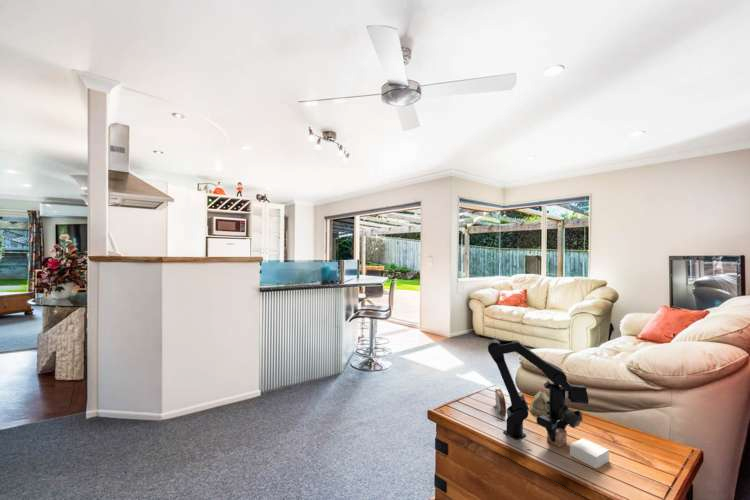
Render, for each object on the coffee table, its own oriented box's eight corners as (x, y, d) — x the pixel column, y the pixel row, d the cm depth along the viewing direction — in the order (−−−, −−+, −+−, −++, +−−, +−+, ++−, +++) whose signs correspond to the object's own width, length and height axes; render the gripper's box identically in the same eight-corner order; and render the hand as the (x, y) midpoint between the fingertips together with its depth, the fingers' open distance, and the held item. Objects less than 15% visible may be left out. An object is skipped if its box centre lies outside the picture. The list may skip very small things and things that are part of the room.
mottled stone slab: (506, 417, 150) (506, 398, 150) (499, 416, 151) (499, 398, 151) (500, 403, 165) (500, 386, 165) (494, 402, 165) (494, 386, 166)
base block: (596, 468, 114) (596, 457, 114) (569, 455, 121) (570, 444, 121) (608, 461, 118) (608, 449, 118) (582, 448, 126) (582, 438, 126)
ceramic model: (531, 402, 167) (531, 382, 167) (556, 408, 161) (556, 388, 161) (527, 413, 155) (527, 391, 156) (553, 419, 149) (553, 397, 149)
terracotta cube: (559, 447, 127) (559, 434, 127) (547, 440, 131) (547, 428, 131) (566, 443, 129) (566, 430, 129) (554, 437, 133) (554, 425, 134)
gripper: (564, 413, 119) (564, 457, 118) (590, 403, 128) (590, 443, 128) (535, 401, 128) (535, 442, 128) (562, 392, 138) (562, 430, 138)
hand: (556, 439), depth 130 cm, fingers closed on terracotta cube, 5 cm apart
